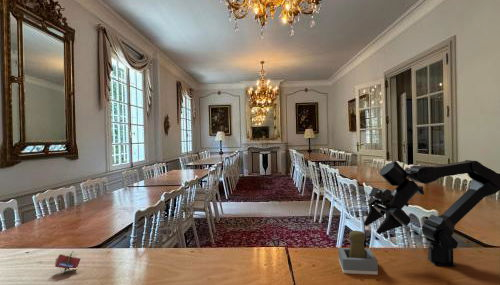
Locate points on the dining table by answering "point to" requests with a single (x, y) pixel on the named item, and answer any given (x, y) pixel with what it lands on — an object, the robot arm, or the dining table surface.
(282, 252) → the dining table surface
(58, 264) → the geometric puzzle
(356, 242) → the cork
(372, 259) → the box
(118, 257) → the dining table surface
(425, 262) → the dining table surface
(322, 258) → the dining table surface
